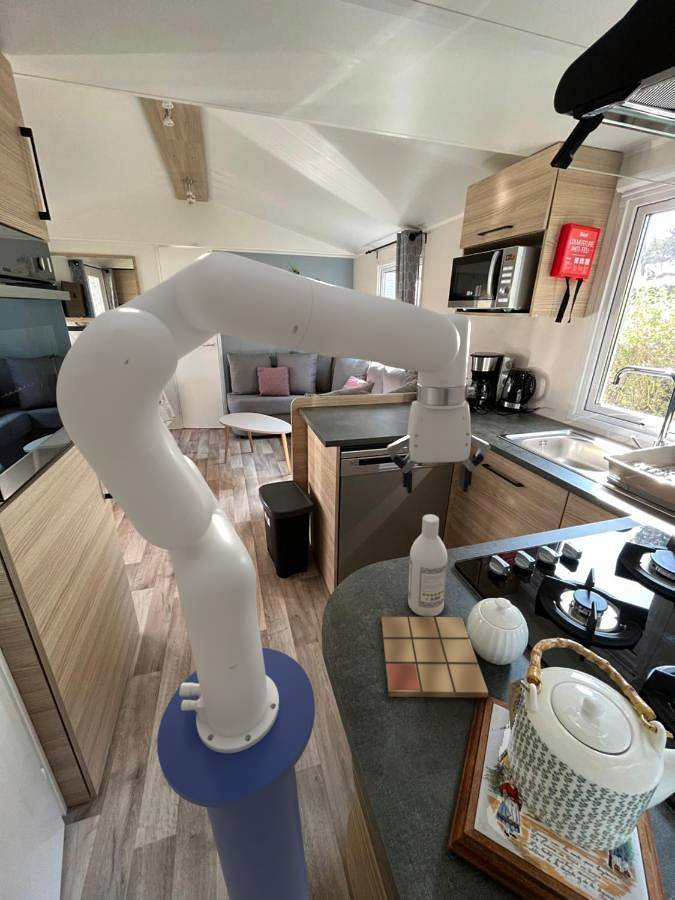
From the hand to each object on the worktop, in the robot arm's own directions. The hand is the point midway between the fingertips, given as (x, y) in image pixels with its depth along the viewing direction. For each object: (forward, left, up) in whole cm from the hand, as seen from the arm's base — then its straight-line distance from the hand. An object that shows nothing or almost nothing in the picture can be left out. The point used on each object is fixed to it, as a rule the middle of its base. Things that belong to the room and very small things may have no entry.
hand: (435, 489), depth 68 cm
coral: (+9, -27, -26) cm, 38 cm away
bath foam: (-1, 0, -26) cm, 26 cm away
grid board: (-2, -12, -26) cm, 28 cm away
